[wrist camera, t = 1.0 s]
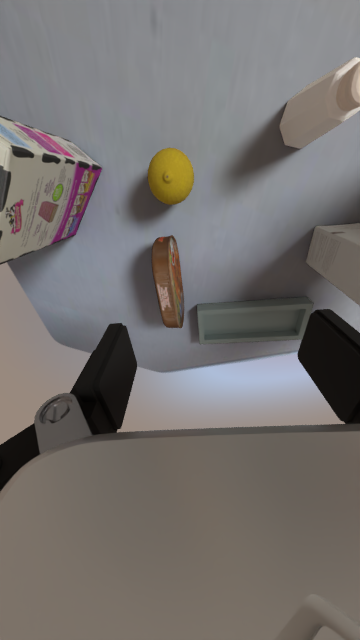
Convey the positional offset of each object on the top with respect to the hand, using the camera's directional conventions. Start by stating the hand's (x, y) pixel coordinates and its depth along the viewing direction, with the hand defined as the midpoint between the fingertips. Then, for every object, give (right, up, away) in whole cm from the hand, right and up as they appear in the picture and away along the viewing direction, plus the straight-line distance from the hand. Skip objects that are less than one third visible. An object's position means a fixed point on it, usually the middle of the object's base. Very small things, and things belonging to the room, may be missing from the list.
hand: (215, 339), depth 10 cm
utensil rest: (+12, +1, +29) cm, 31 cm away
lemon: (-3, +21, +17) cm, 27 cm away
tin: (-3, +9, +25) cm, 27 cm away
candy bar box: (-18, +20, +19) cm, 32 cm away
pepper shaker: (+13, +25, +13) cm, 31 cm away
